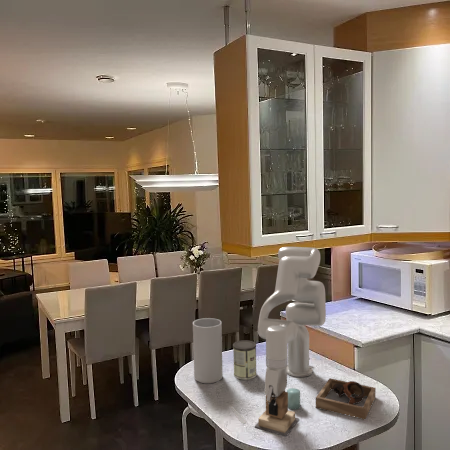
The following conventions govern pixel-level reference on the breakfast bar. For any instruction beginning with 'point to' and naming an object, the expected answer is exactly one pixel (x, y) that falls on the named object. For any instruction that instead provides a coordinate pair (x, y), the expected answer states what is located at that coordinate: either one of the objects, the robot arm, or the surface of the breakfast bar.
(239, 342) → the coffee can
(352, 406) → the mug tray
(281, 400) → the walnut block
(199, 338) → the cylinder vase
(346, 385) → the pottery mug
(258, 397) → the breakfast bar surface
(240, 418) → the butter knife
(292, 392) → the teal capsule
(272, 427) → the plinth
